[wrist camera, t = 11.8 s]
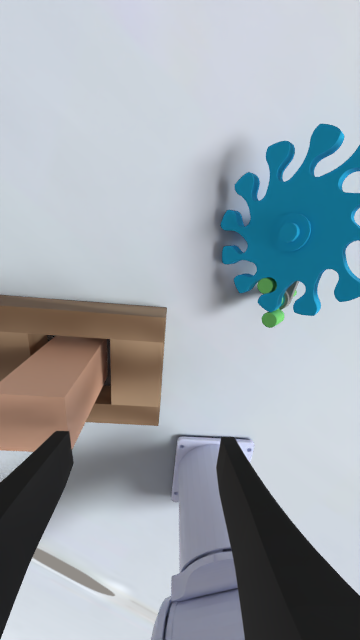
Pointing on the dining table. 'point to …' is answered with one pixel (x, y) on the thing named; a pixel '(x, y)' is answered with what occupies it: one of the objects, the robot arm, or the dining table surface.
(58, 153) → the dining table surface
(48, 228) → the dining table surface
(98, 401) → the socket block
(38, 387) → the peg
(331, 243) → the gear
